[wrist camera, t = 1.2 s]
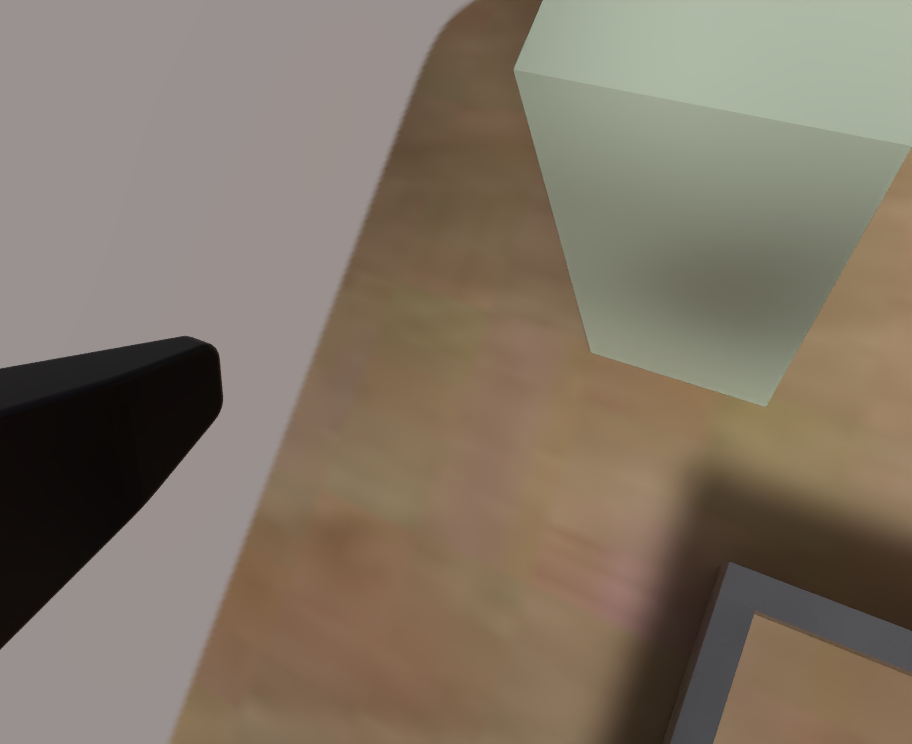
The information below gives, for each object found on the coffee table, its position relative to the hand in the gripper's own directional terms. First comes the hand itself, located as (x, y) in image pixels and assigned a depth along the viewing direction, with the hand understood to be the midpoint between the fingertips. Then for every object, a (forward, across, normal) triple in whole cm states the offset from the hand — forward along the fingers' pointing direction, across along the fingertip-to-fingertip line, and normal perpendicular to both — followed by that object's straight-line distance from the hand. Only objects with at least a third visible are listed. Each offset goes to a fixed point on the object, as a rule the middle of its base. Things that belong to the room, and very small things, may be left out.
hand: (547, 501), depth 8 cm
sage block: (+15, 0, +4) cm, 16 cm away
